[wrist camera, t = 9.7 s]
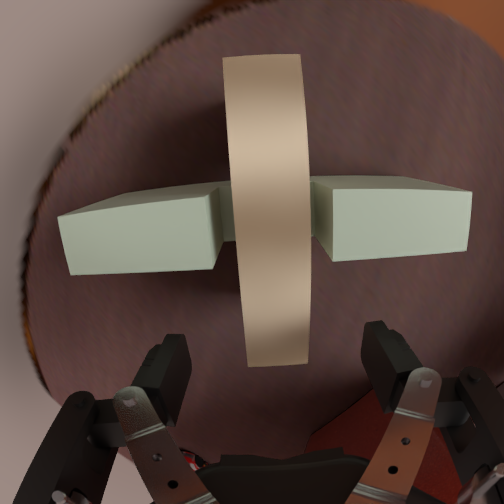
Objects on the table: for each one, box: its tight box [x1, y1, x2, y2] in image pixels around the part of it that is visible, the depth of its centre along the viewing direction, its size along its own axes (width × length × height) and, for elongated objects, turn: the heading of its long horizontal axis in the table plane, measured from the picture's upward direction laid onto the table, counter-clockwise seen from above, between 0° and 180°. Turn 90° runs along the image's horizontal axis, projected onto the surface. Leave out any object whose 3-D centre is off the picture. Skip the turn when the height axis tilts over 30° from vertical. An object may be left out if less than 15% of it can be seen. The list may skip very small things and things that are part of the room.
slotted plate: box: [223, 54, 311, 367], centre depth 15 cm, size 14×3×8 cm, turn 4°
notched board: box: [57, 175, 472, 275], centre depth 15 cm, size 20×3×8 cm, turn 94°
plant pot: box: [304, 389, 462, 504], centre depth 18 cm, size 19×19×17 cm
